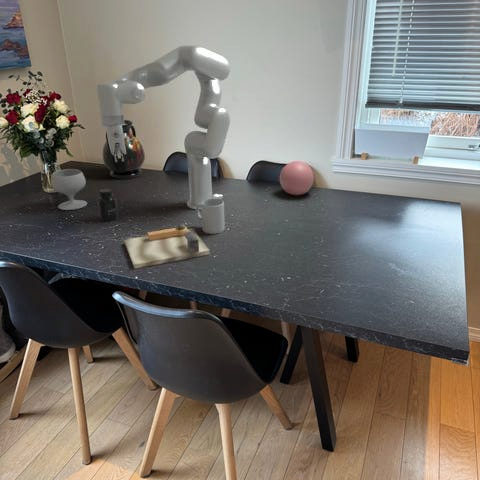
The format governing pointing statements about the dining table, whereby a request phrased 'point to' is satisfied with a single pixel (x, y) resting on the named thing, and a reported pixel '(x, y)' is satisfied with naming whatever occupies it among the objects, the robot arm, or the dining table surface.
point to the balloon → (296, 178)
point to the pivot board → (165, 248)
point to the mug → (211, 215)
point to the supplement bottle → (107, 205)
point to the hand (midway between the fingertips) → (119, 169)
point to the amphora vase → (131, 158)
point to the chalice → (69, 187)
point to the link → (166, 233)
